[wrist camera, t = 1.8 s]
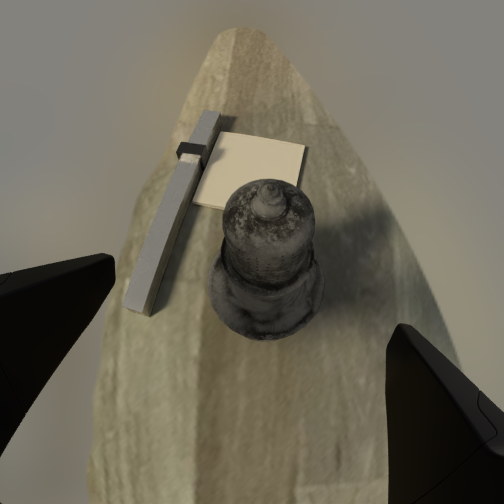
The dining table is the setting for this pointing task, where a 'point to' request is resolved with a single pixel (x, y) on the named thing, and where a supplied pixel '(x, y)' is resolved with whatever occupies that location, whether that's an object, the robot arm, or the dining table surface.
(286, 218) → the dark grey tiered figure
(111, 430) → the dining table surface
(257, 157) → the groove pad
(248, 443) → the dining table surface
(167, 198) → the white rectangular bar
